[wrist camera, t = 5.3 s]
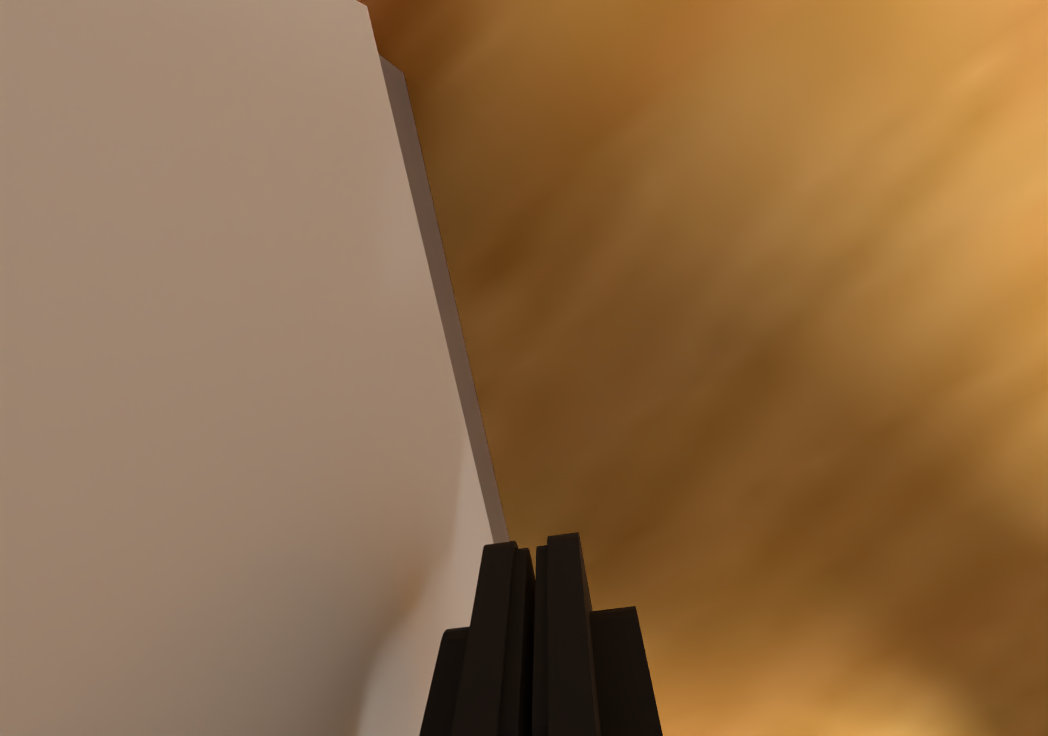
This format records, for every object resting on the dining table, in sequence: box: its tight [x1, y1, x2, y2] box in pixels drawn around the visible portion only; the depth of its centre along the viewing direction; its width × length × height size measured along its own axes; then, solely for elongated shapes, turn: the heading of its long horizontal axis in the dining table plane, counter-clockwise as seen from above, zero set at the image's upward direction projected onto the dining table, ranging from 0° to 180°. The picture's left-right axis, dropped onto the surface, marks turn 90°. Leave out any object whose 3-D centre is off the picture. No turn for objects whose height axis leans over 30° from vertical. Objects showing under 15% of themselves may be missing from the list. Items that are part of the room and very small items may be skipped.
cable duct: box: [378, 54, 510, 544], centre depth 18 cm, size 22×13×6 cm, turn 11°
